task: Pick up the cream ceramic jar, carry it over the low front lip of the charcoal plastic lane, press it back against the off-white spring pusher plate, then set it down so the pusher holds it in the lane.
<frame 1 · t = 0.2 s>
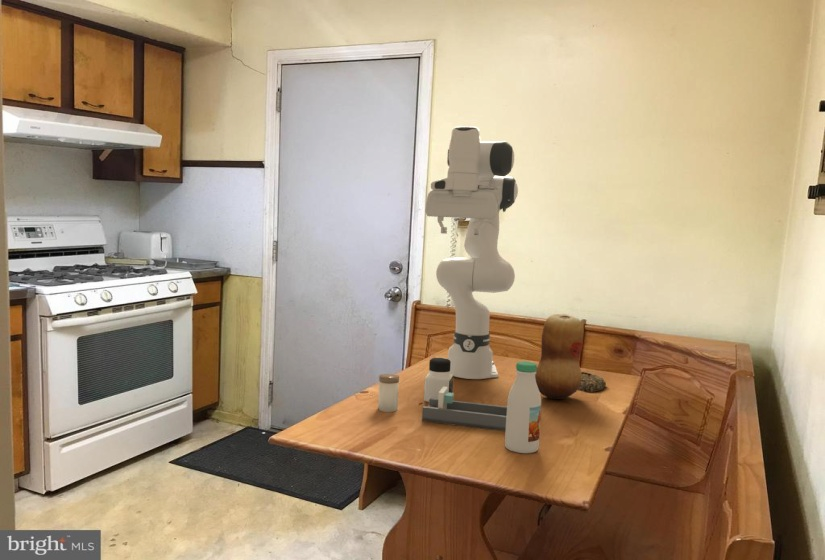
hand: (460, 234, 180), 47 cm above the table, fingers open, 8 cm apart
jar: (387, 409, 173), on the table
lane: (471, 421, 166), on the table
butternut squash: (556, 398, 191), on the table
milk bottle: (521, 448, 148), on the table
medicine bottle: (438, 400, 184), on the table
grey speckled flat mound: (583, 387, 206), on the table
pusher: (446, 401, 167), point 4 cm above the table, slide at 0.0 cm
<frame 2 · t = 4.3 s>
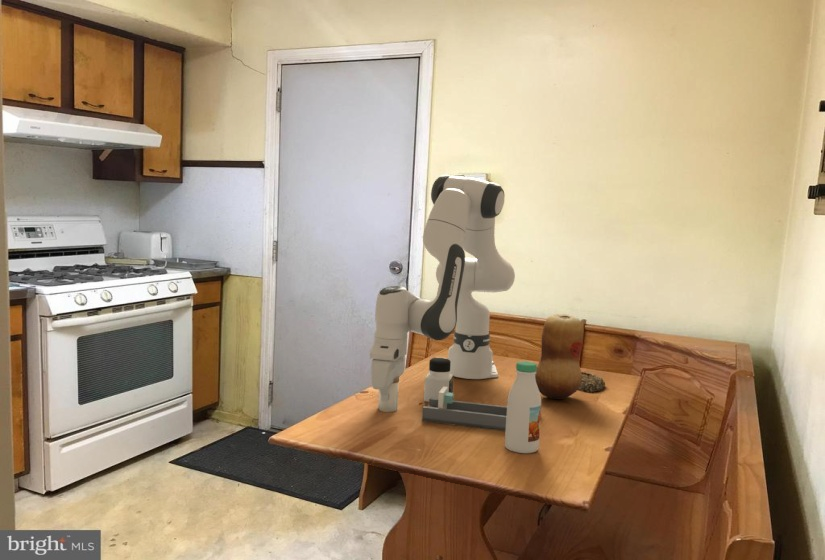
hand: (388, 397, 173), 3 cm above the table, fingers closed on jar, 5 cm apart
jar: (387, 409, 173), on the table, touching gripper
everything else where it was.
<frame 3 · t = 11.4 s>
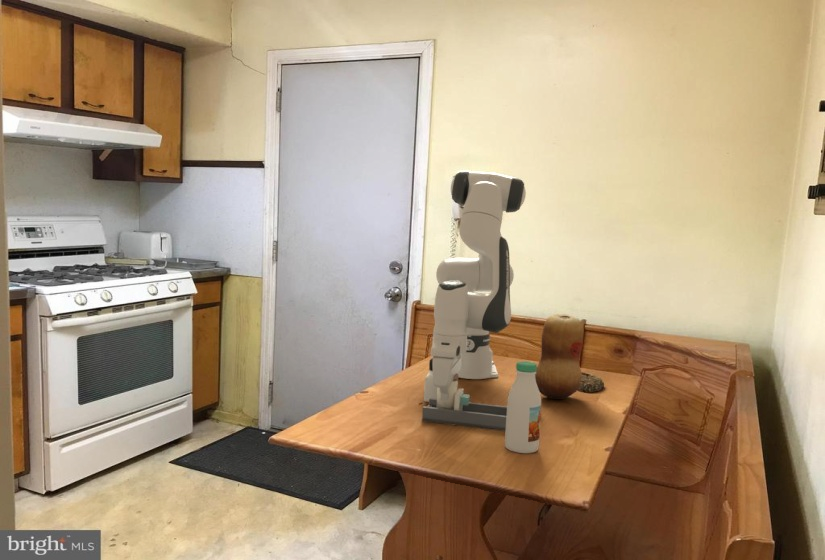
hand: (447, 396, 167), 6 cm above the table, fingers closed on jar, 5 cm apart
jar: (446, 408, 167), point 3 cm above the table, touching gripper, pusher
pusher: (462, 403, 166), point 4 cm above the table, slide at 4.2 cm, touching jar
everything else where it was.
when the fingers open (5 cm above the table, at t = 12.4 s): jar moves 1 cm, resting on lane, pusher.
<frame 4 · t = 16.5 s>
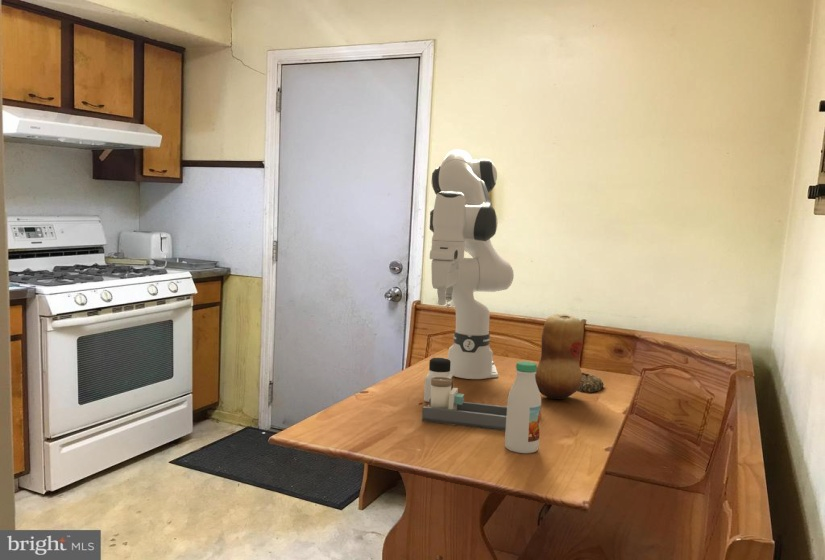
hand: (445, 302, 174), 29 cm above the table, fingers open, 8 cm apart
jar: (440, 413, 168), point 1 cm above the table, touching lane, pusher
pusher: (456, 403, 166), point 4 cm above the table, slide at 2.7 cm, touching jar
at the end: jar 0.4 cm from the target spot on the lane, point 1.1 cm above the lane's base; jar tilted 1°; pusher slide at 2.7 cm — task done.
